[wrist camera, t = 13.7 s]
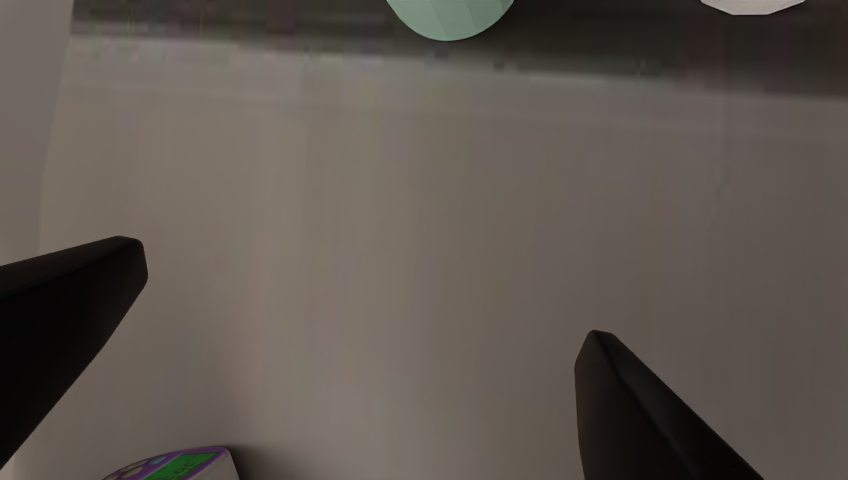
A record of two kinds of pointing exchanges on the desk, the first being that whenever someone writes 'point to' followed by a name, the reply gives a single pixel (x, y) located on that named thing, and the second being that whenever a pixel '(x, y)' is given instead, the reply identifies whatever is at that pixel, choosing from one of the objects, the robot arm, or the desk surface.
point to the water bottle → (449, 16)
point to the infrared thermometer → (182, 466)
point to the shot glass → (751, 6)
